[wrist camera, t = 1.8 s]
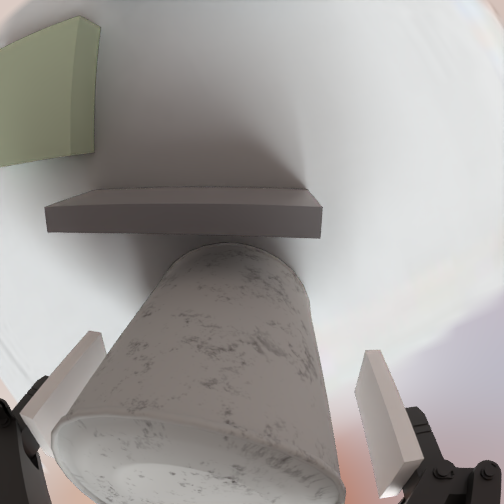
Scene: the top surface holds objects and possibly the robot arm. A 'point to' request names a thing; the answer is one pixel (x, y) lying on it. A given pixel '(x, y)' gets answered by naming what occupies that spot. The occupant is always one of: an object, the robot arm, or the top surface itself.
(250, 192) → the parallel grey rails
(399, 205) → the top surface
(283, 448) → the grey cylindrical piece
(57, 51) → the block
